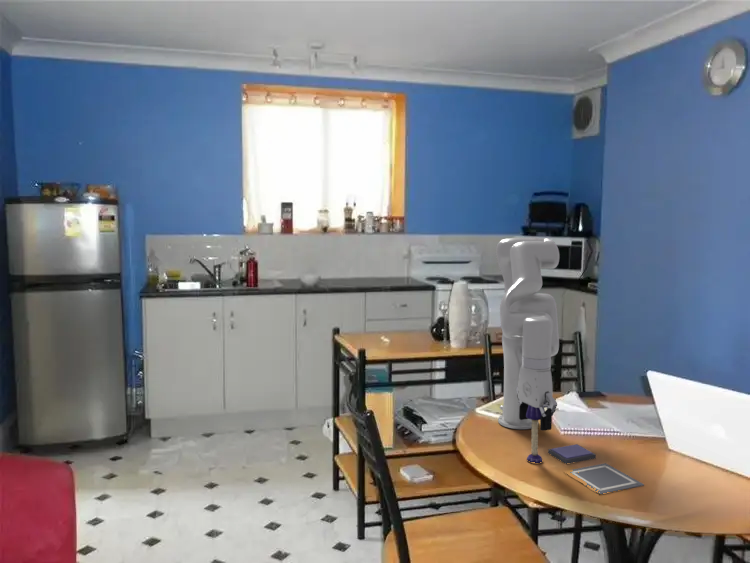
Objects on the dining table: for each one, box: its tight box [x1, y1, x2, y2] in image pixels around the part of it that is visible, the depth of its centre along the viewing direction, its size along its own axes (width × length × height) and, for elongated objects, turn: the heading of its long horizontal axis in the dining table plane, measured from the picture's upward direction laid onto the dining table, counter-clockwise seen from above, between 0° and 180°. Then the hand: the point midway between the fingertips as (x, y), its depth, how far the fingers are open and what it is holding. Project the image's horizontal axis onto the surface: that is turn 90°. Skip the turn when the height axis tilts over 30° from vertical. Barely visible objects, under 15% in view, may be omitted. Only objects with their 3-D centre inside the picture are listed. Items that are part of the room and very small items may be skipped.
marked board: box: [570, 462, 645, 495], centre depth 166 cm, size 14×14×1 cm
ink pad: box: [547, 443, 597, 465], centre depth 181 cm, size 8×10×2 cm
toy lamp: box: [526, 405, 543, 464], centre depth 176 cm, size 5×5×17 cm
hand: (534, 424), depth 176 cm, fingers open, 9 cm apart
